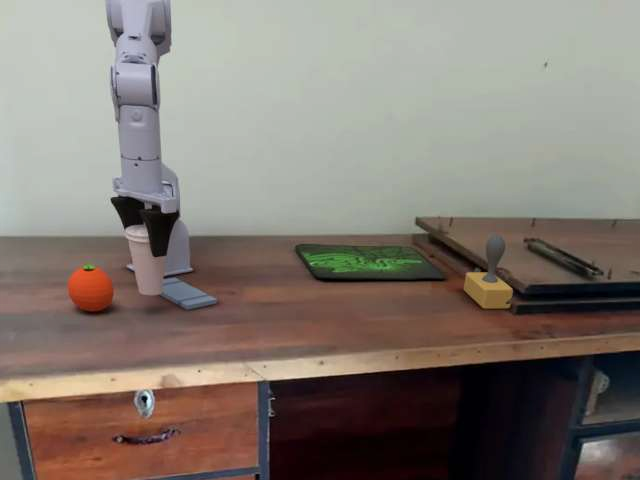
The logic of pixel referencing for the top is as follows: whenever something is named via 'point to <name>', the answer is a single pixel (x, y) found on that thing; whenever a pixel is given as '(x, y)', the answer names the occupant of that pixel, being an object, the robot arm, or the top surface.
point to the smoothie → (145, 260)
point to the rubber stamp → (489, 279)
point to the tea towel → (185, 294)
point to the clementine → (90, 288)
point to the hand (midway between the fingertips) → (147, 250)
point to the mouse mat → (367, 262)
